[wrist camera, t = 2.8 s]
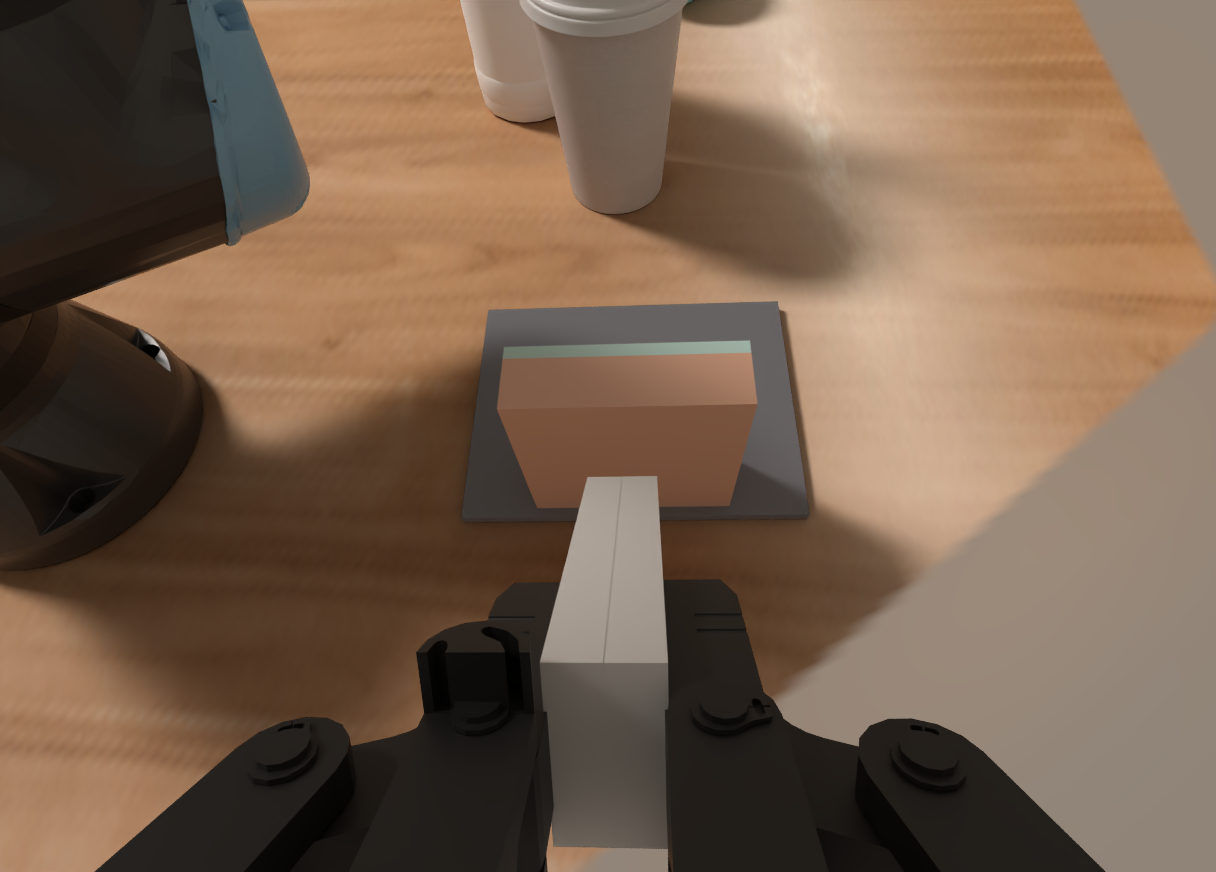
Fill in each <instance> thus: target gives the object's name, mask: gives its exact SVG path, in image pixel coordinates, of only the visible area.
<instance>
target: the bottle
mask: <svg viewBox="0 0 1216 872" xmlns="http://www.w3.org/2000/svg"><path fill="white" fill-rule="evenodd" d="M460 2H461V6H462V10H463V14H464V18H465V22H466V26H467V31H468V35H469V39H470V43H471V47H472V51H473V55H474V65H475V69H476V74H477V77H478V81H479V85H480V88H481V91H482V92H483V97H484V100H485V104H486V107H487V108H488V109H489V110H490V111H491V112H492V113H493V114H494V115H497V116H499V117H501V118H504V119H506V120H508V121H515V122H523V123H526V122H536V121H542V120H545V119H548V118H551V117H554V116H555V113H554V108H553V104H552V100H551V96H550V92H549V87H548V83H547V79H546V75H545V70H544V66H543V62H542V58H541V54H540V50H539V46H538V41H537V37H536V33H535V29H534V25H533V21H532V19H531V18H530V17H528V15H527V14H526V13H525V12H524V11H523V9H522V7H521V5H520V2H519V0H460Z"/></svg>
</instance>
